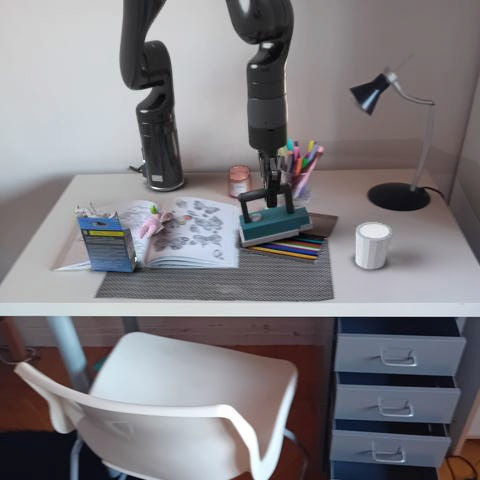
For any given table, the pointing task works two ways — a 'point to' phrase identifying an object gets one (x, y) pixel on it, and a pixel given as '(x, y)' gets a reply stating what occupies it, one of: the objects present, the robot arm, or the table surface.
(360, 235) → the shot glass
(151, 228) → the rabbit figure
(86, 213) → the soldier figure
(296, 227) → the iron
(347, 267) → the table surface
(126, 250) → the tape cartridge
